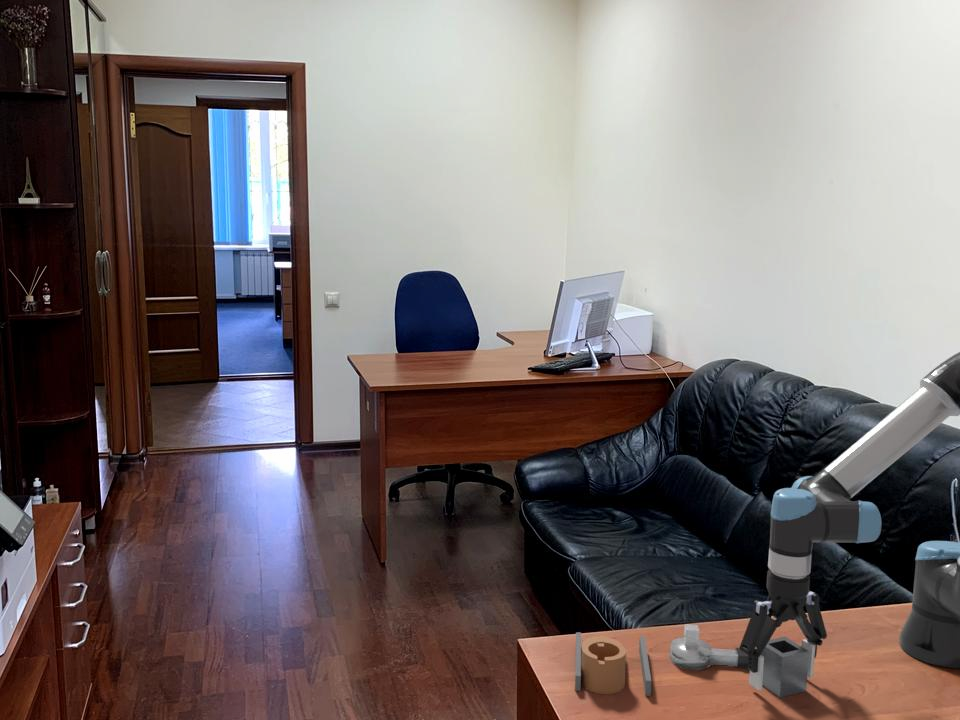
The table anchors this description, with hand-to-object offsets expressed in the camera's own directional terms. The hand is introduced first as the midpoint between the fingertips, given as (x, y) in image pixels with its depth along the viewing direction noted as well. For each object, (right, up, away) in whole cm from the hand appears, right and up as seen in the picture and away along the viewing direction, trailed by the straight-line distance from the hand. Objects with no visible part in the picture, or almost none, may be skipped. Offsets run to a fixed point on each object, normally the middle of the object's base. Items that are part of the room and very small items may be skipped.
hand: (781, 680), depth 167 cm
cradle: (-32, 0, +6) cm, 32 cm away
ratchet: (-8, 0, +9) cm, 12 cm away
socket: (0, -1, 0) cm, 1 cm away
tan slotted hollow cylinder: (-33, 0, +6) cm, 34 cm away
